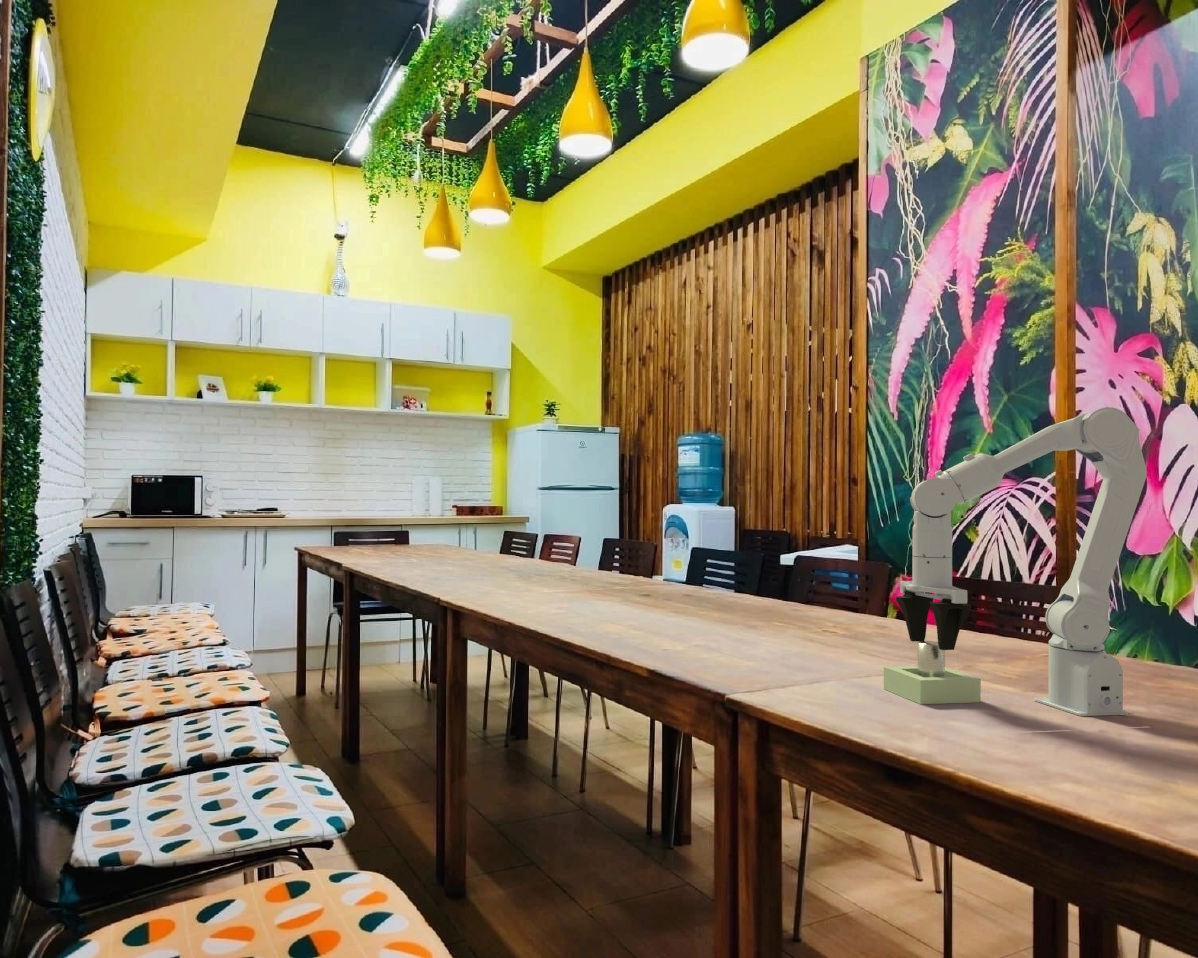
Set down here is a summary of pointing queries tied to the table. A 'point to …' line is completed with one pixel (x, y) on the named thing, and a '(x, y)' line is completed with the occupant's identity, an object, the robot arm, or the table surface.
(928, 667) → the peg
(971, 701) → the green tray
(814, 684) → the table surface
